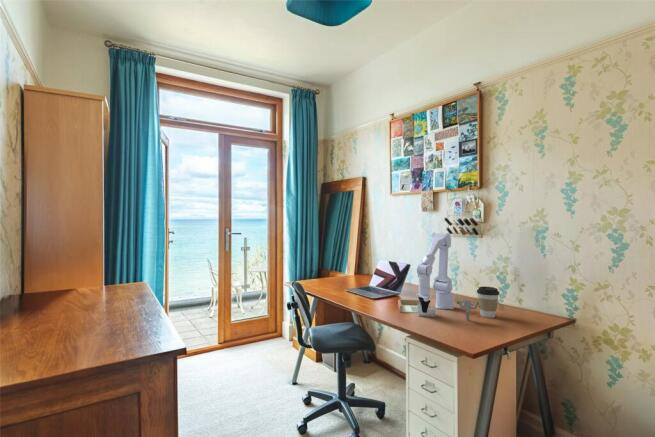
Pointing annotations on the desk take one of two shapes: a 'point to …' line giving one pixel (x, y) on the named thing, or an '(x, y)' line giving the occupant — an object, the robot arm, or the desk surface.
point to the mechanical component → (467, 306)
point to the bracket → (429, 312)
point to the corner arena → (407, 305)
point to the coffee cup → (488, 301)
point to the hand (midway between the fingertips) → (424, 311)
